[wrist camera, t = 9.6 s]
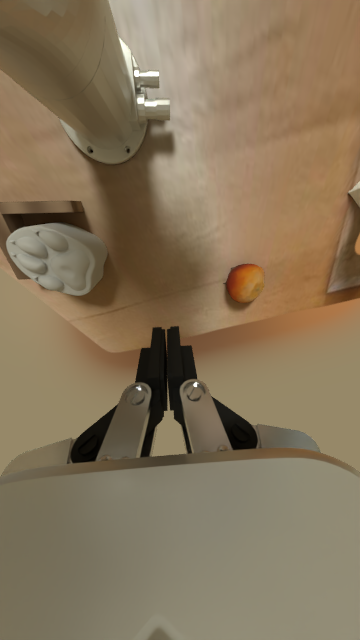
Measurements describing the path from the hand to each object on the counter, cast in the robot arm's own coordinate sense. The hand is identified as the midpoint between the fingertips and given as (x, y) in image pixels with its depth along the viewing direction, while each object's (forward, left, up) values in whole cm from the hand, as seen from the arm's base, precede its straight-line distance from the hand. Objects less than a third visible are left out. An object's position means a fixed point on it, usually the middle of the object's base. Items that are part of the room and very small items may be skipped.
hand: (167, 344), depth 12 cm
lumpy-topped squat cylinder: (+19, 0, -29) cm, 35 cm away
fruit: (-16, +6, -29) cm, 34 cm away
